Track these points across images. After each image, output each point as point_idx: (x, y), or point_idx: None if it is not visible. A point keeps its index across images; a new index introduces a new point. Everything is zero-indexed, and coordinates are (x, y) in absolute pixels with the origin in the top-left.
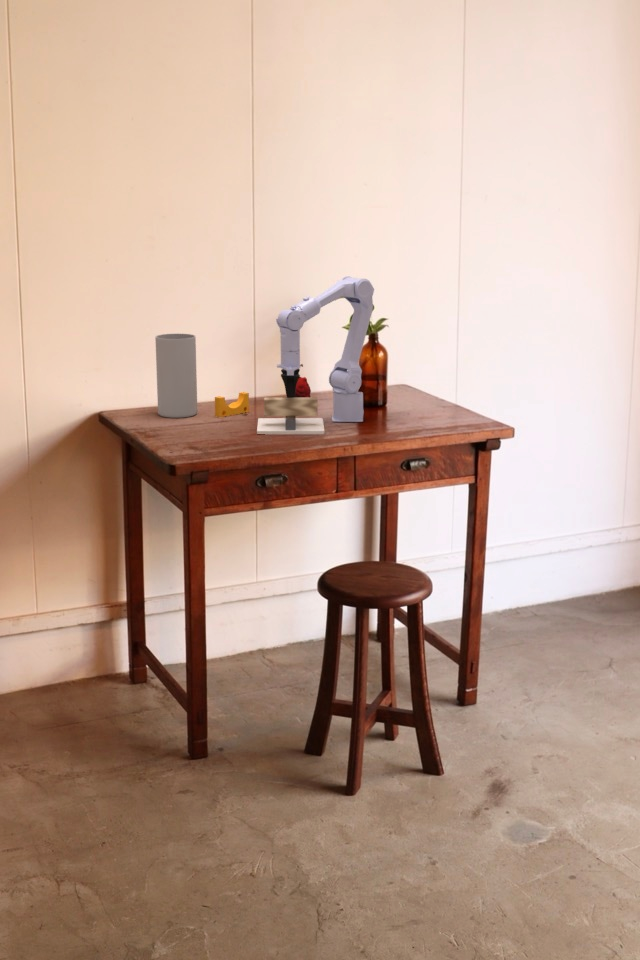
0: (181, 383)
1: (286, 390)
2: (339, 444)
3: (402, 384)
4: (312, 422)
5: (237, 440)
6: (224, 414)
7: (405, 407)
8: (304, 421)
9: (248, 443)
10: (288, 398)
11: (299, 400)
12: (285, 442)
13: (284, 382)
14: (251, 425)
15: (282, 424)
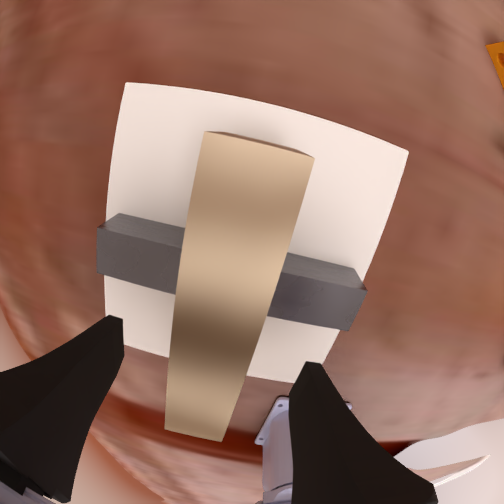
0: None
1: (72, 344)
2: (19, 320)
3: (480, 460)
4: None
5: (70, 20)
6: (501, 65)
7: None
8: (275, 326)
9: (27, 62)
10: (218, 333)
11: (168, 371)
12: (19, 186)
13: (5, 373)
14: (332, 92)
15: None
